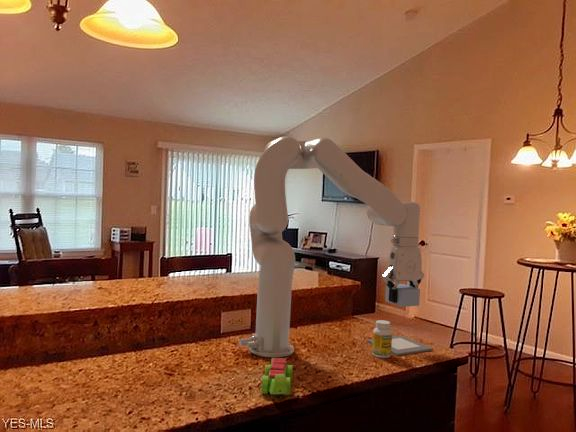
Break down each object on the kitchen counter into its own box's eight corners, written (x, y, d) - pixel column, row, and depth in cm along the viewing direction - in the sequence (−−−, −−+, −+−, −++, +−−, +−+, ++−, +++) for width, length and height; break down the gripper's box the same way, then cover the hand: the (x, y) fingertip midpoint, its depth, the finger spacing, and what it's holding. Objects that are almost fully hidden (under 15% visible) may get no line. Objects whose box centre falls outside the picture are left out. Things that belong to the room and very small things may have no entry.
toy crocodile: (266, 370, 121) (267, 346, 121) (292, 372, 121) (294, 348, 121) (258, 404, 102) (260, 375, 101) (290, 406, 101) (291, 377, 101)
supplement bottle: (381, 351, 141) (383, 318, 141) (395, 356, 137) (397, 323, 136) (367, 353, 138) (369, 320, 138) (381, 359, 134) (383, 325, 133)
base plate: (396, 355, 138) (397, 353, 138) (366, 341, 150) (366, 339, 150) (432, 350, 144) (432, 348, 144) (400, 337, 157) (400, 335, 156)
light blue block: (401, 306, 142) (402, 289, 141) (385, 300, 149) (386, 284, 149) (419, 305, 144) (420, 289, 144) (402, 299, 152) (403, 284, 151)
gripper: (391, 244, 138) (388, 306, 139) (435, 243, 147) (432, 301, 147) (374, 241, 145) (371, 300, 146) (418, 241, 153) (414, 296, 154)
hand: (402, 300), depth 146 cm, fingers closed on light blue block, 6 cm apart
